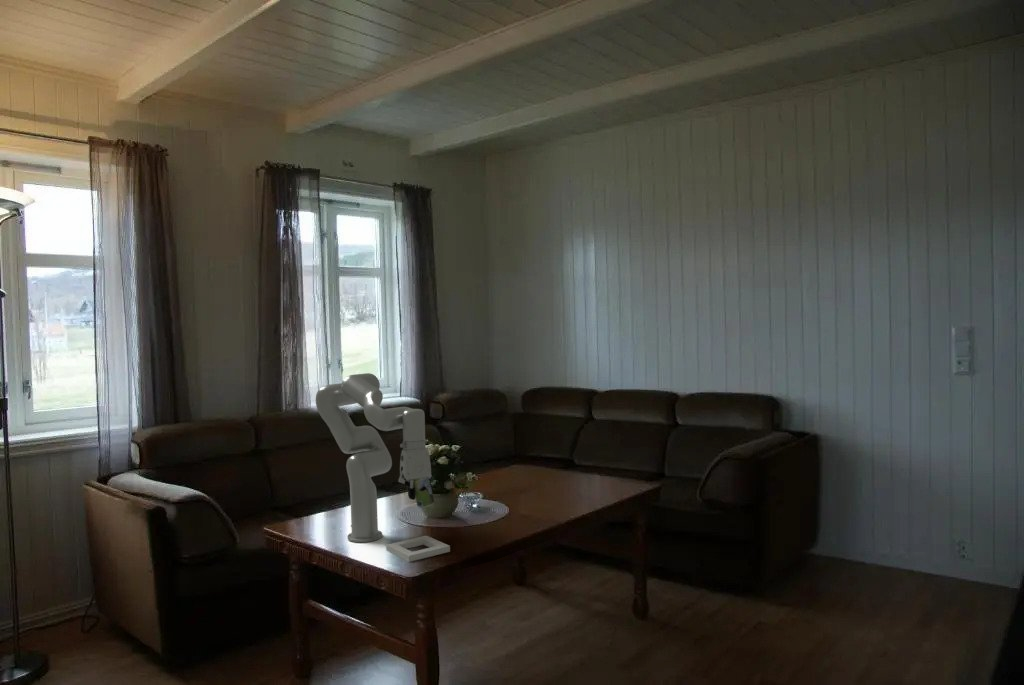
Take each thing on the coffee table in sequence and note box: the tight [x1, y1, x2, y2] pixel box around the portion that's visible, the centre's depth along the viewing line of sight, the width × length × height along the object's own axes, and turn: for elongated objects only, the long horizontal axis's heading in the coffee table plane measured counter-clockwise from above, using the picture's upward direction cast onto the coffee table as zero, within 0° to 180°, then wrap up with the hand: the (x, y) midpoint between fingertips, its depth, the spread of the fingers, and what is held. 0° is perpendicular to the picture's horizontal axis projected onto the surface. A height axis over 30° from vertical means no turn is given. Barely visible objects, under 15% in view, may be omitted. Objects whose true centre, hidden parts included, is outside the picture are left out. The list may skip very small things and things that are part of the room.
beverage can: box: [413, 477, 435, 508], centre depth 253 cm, size 6×7×12 cm
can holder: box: [385, 535, 451, 563], centre depth 252 cm, size 16×16×2 cm
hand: (415, 497), depth 252 cm, fingers closed on beverage can
